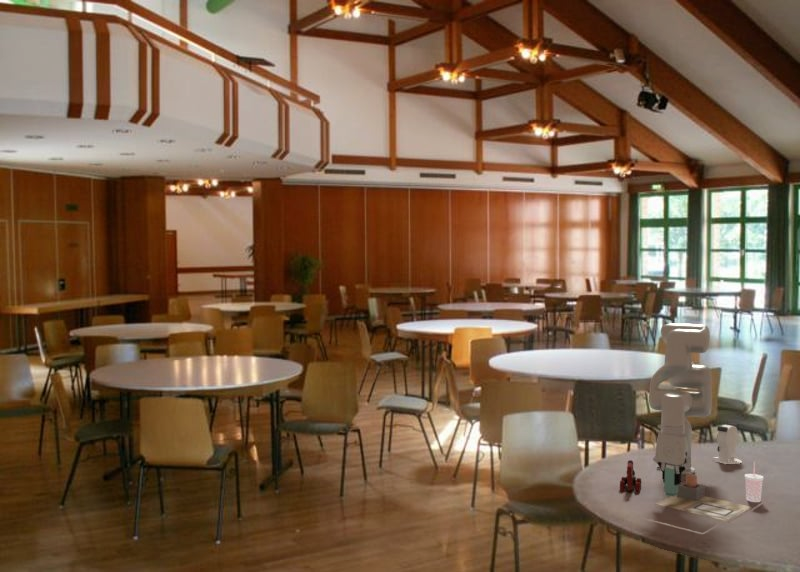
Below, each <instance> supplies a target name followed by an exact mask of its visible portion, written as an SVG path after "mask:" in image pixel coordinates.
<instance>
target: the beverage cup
mask: <svg viewBox="0 0 800 572" xmlns="http://www.w3.org/2000/svg"><path fill="white" fill-rule="evenodd" d="M752 471H753V473H745V474H744V479H745V481H744V482H745V499H746V500H747V501H748V502H752V503H760V502H761V499H762V492H763V491H762V490H763V481H764V476H763V475H760V474H757V473H756V461H753V470H752Z"/></svg>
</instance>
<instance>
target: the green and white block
mask: <svg viewBox="0 0 800 572" xmlns="http://www.w3.org/2000/svg"><path fill="white" fill-rule="evenodd" d="M675 473H676V467H675V465H672V464H666V467H665V483H664V484H663V485H664V489H663V490H664V493H665V495H666V496H669V497H670V496H675V495H677V492H678V485H679V484H678V485H675V484H674V479H675Z"/></svg>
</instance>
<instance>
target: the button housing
mask: <svg viewBox="0 0 800 572" xmlns="http://www.w3.org/2000/svg"><path fill="white" fill-rule="evenodd" d="M705 496H706V485H704V484H700V483H699V484H698V483H697V487H696V488H691V487H686V481H684V482H682V483H680V484H678V492H677V497H680V498H684V499H688V500H693V501H698V500H700V499H702V498H704V497H705Z"/></svg>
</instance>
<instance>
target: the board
mask: <svg viewBox="0 0 800 572" xmlns="http://www.w3.org/2000/svg"><path fill="white" fill-rule="evenodd" d="M654 505H658V506H660V507H661V506H662V507H665V508H670V509H675V510H679V511H682V512H686V513H691V514H695V515H699V516H703V517H704V516H705V517H708V518H712V519H716V520H720V521H724V522H727V524H729V523H730V521H732V520H733V519H735V518H737V517H738V516H742V515H743V513H747V512H748V510H750V509H751V508H752V506H750V505H746V504H740V503H736V502H732V501H728V500H724V499H720V498H719V499H718V498H714V497H710V496H706V495H705V497H704V498H702V499H700V500H698V501H693V500H688V499H684V498H680V497H677V495H675V496H669V497H666V498H664V499H662V500H660V501H658V502H656V503H654Z"/></svg>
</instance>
